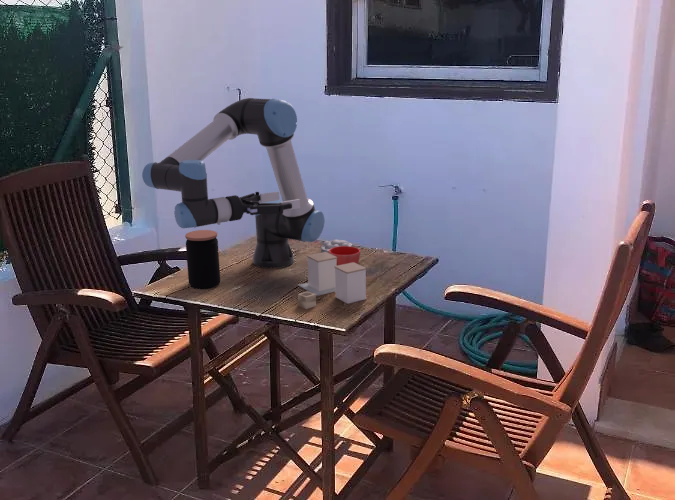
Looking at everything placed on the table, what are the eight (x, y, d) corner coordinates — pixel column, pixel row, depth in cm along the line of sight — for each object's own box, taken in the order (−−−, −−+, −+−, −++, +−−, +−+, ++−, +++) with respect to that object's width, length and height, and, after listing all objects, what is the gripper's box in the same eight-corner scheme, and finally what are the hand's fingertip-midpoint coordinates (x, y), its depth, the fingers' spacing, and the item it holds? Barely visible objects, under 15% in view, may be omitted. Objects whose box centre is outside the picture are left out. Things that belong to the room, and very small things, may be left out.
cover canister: (307, 285, 245) (306, 255, 242) (326, 281, 249) (325, 251, 246) (318, 291, 239) (318, 260, 236) (337, 287, 243) (337, 257, 240)
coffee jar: (226, 281, 252) (223, 231, 246) (211, 291, 242) (207, 239, 237) (198, 278, 255) (195, 228, 250) (183, 288, 245) (178, 236, 240)
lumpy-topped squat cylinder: (355, 261, 272) (355, 239, 269) (341, 271, 260) (341, 248, 258) (330, 258, 276) (329, 236, 273) (315, 268, 264) (314, 245, 262)
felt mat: (298, 285, 246) (298, 284, 246) (328, 279, 252) (328, 278, 252) (316, 295, 236) (316, 294, 236) (347, 288, 243) (347, 287, 242)
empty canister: (334, 297, 235) (334, 266, 232) (353, 292, 239) (353, 262, 236) (347, 303, 229) (346, 272, 226) (366, 299, 233) (366, 268, 230)
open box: (298, 306, 228) (297, 293, 227) (307, 302, 231) (307, 290, 230) (306, 309, 225) (306, 297, 224) (316, 306, 228) (315, 294, 227)
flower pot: (357, 282, 249) (357, 255, 246) (326, 280, 251) (325, 253, 248) (362, 272, 258) (362, 246, 256) (332, 271, 261) (332, 245, 258)
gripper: (211, 213, 230) (271, 203, 240) (245, 230, 209) (309, 219, 220) (209, 189, 228) (270, 181, 238) (243, 204, 207) (308, 194, 218)
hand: (289, 199), depth 229 cm, fingers open, 13 cm apart
